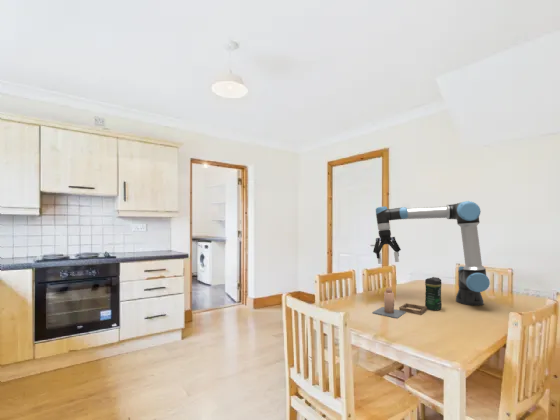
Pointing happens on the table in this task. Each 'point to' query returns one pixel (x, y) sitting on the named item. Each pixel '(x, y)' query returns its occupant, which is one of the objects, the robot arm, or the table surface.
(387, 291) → the terracotta spice bottle
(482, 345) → the table surface
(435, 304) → the coffee jar
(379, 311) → the plate
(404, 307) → the walnut frame
